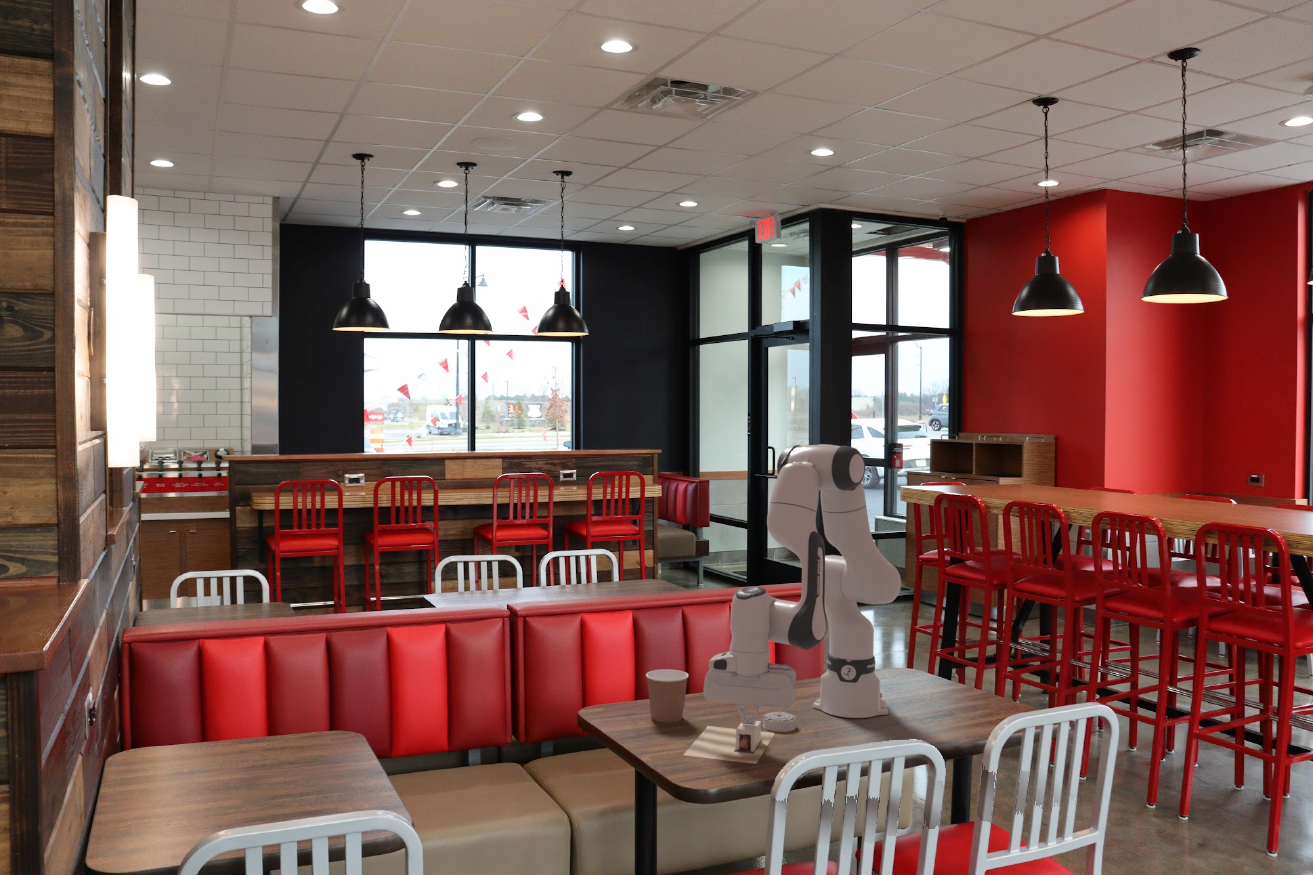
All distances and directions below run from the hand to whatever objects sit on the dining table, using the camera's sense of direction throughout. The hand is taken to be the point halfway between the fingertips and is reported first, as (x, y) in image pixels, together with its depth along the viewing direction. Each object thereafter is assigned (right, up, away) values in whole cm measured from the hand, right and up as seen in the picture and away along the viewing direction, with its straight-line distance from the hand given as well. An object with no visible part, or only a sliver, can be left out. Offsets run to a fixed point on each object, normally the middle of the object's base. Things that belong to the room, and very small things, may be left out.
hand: (748, 723), depth 227 cm
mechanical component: (+9, -7, +14) cm, 18 cm away
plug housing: (0, -5, -1) cm, 5 cm away
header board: (-4, -6, +1) cm, 8 cm away
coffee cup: (-18, -6, +20) cm, 28 cm away
